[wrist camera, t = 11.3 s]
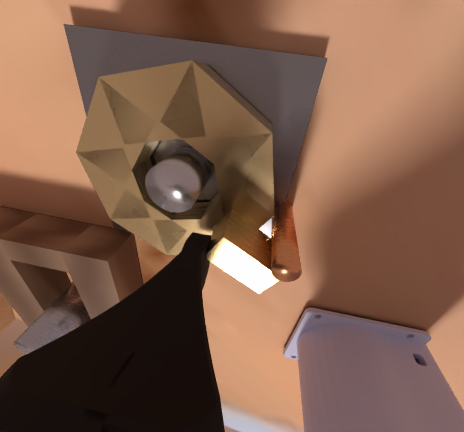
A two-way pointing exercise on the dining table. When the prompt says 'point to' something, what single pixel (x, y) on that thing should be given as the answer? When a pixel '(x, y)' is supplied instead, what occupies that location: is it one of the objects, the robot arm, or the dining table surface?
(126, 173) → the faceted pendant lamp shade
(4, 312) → the sandwich container
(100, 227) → the slot block
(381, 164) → the dining table surface
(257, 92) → the nut base
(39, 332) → the pin
